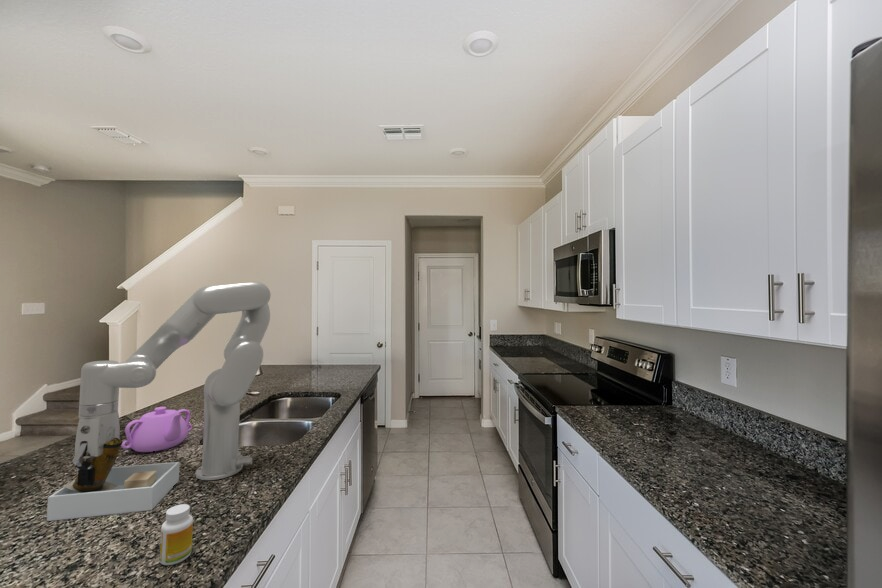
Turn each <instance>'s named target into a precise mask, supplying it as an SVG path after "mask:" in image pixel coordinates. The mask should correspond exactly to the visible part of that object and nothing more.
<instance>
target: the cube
mask: <svg viewBox="0 0 882 588" xmlns="http://www.w3.org/2000/svg"><path fill="white" fill-rule="evenodd" d="M155 482H156V471H148V472H137V473H134V474H133V475H132V476H130V477H129V478H128V479H127V480H126V481H124V489H130V488H141V487H151V486H152V485H153V484H154V483H155Z"/></svg>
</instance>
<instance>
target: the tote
mask: <svg viewBox="0 0 882 588" xmlns="http://www.w3.org/2000/svg"><path fill="white" fill-rule="evenodd" d="M180 464H181V462H180V461H172V462H162V463H161V462H160V463H148V464H147V463H145V464H135V465H134V464H133V465H121V466H112V468H111V471H110V472H109V475H108V476H107V478H106V480H105V481H106V482H109V483H112V484H115V485H117V487H115V488H113V489H111V490H109V491H98V492H87V493H79V492H76V491H73V490H71V489H68V488H65V487H63V486H62V488H59V490H57V491H55V492H54V493H52V494H51V495H49V496H48V497H47V508H46V509H47V512H46V522H51V521H60V520H71V519H79V518H80V519H81V518H89V517H98V516H109V515H116V514H118V515H120V514H126V513H136V512H138V513H139V512H145V511H147V512H148V511H152V510H153V509H154V508H155V507H156V506H157V505H158V504H159V503H160V502H161V501H162V500H163V498H164V497H166V495H168V493H169V492H171V490H172V489H173V488H174V487H175V486H176V485H177V484H178V483H179V481H180ZM148 471H156V482H155V483H154V484H153V485H152V486H151V487H141V488H130V489H124V481H126V480H127V479H128V478H129V477H130V476H132V475H133V474H134V473H137V472H148ZM73 481H75V479H74V480H72V481H71V482H73ZM176 483H177V484H176ZM175 484H176V485H175ZM174 485H175V486H174ZM173 486H174V487H173Z"/></svg>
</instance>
